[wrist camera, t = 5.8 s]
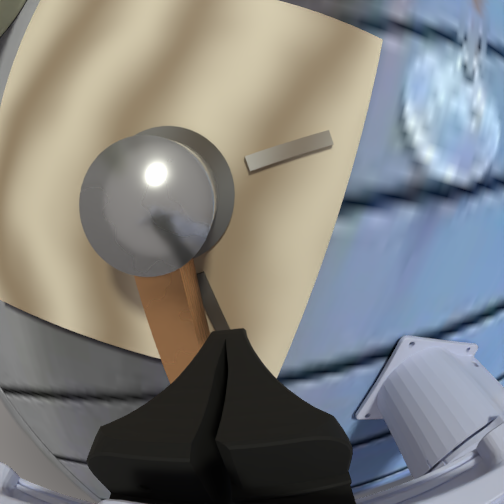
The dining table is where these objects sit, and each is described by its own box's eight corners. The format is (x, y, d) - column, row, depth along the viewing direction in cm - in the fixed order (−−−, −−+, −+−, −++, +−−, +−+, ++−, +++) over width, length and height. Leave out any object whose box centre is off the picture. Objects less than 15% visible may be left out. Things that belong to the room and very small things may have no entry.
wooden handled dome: (103, 155, 12) (68, 155, 9) (209, 130, 12) (200, 120, 9) (157, 359, 15) (144, 398, 12) (246, 351, 15) (249, 392, 12)
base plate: (371, 48, 12) (384, 38, 11) (272, 366, 18) (275, 384, 16) (54, 2, 10) (42, -7, 8) (2, 286, 15) (-12, 295, 14)
